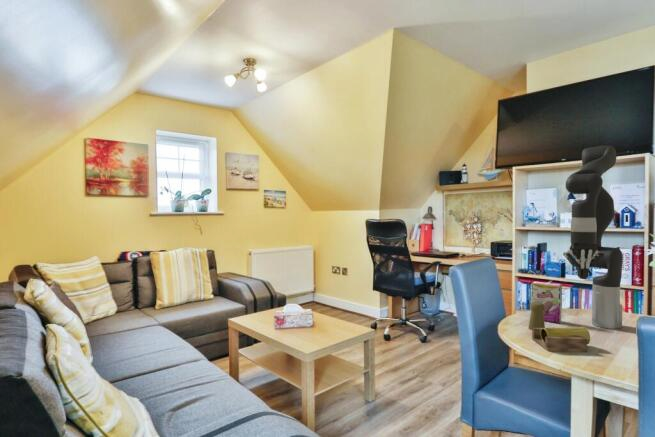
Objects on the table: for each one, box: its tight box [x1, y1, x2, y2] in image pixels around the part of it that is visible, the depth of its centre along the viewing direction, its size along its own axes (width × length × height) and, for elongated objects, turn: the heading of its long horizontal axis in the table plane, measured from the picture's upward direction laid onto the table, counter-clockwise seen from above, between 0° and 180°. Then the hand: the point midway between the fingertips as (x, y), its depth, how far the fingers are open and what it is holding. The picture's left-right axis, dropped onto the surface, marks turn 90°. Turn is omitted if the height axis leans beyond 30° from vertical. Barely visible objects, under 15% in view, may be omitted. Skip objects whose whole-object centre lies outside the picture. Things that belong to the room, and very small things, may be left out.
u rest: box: [531, 328, 588, 353], centre depth 131 cm, size 13×11×4 cm
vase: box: [540, 326, 591, 345], centre depth 130 cm, size 6×6×14 cm
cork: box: [528, 302, 546, 331], centre depth 148 cm, size 6×6×11 cm
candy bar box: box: [530, 281, 563, 324], centre depth 160 cm, size 11×5×16 cm, turn 49°
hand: (582, 278), depth 129 cm, fingers closed
